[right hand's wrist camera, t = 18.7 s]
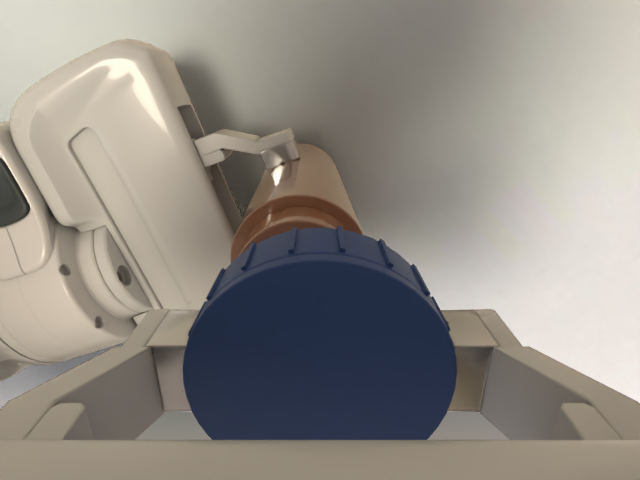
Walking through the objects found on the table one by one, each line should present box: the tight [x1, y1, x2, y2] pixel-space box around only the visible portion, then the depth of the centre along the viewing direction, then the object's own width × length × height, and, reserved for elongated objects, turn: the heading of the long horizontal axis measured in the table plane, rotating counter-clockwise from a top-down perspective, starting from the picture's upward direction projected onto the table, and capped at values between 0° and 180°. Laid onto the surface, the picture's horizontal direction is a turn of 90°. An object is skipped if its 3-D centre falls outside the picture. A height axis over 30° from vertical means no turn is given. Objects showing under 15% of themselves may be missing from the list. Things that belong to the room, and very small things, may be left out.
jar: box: [230, 143, 364, 263], centre depth 20 cm, size 5×5×15 cm
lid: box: [183, 226, 457, 440], centre depth 9 cm, size 6×6×2 cm
